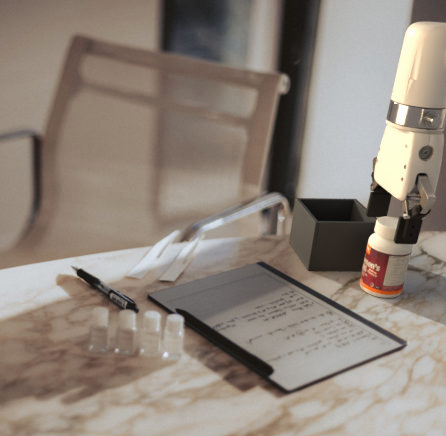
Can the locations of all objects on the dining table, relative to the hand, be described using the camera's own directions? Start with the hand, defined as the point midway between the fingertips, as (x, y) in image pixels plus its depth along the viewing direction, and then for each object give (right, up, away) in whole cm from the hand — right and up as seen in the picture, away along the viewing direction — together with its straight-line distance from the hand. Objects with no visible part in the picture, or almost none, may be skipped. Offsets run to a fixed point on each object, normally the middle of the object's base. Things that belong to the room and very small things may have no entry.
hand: (389, 229), depth 92 cm
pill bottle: (0, -10, +4) cm, 10 cm away
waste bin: (-4, -5, +14) cm, 16 cm away
